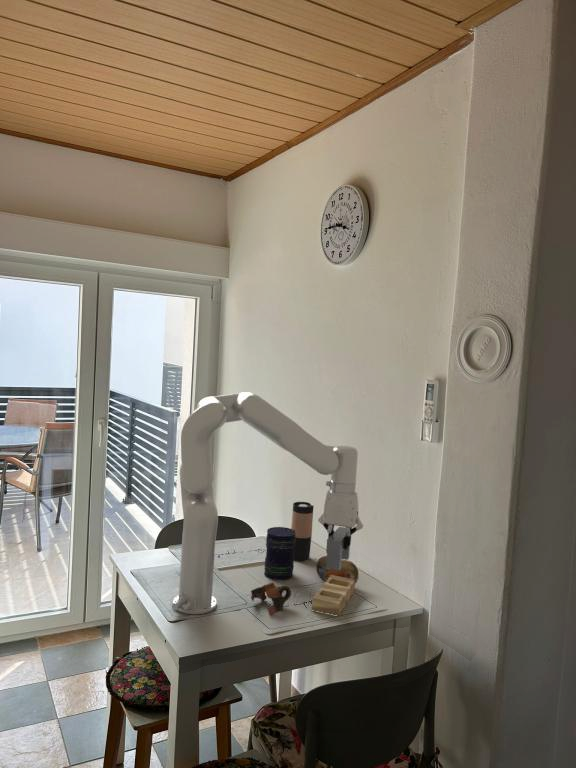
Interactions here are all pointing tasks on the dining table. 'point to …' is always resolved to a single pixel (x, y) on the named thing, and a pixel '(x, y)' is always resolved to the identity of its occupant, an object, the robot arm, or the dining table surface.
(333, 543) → the clip
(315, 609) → the light brown long block
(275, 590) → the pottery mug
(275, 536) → the storage jar
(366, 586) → the dining table surface
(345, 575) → the tin
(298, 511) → the travel mug
